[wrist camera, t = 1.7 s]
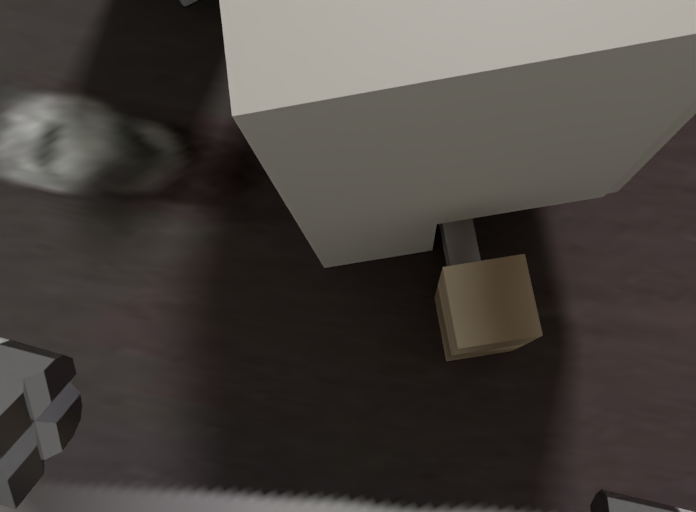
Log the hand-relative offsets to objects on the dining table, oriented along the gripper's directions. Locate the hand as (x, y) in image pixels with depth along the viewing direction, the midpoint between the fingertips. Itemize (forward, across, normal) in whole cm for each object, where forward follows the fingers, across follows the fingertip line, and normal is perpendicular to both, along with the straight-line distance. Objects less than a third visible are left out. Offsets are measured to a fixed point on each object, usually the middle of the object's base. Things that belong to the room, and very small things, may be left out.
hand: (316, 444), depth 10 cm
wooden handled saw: (+31, -1, +11) cm, 33 cm away
